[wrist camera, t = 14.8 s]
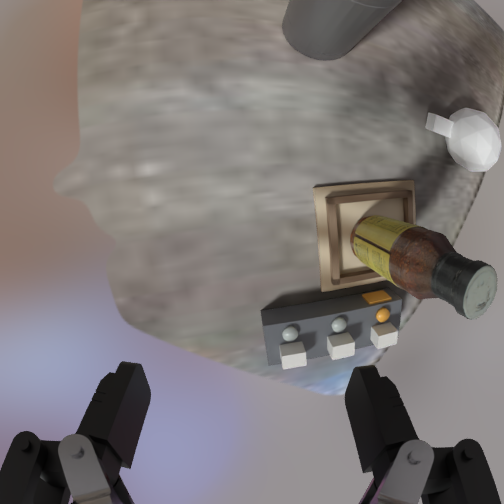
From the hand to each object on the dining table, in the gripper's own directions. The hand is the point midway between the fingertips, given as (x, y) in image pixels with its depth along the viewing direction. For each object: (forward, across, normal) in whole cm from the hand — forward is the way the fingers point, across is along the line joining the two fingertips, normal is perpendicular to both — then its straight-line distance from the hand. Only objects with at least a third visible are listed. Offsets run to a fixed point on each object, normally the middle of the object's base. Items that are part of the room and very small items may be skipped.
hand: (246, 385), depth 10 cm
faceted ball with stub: (+28, -28, -12) cm, 41 cm away
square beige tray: (+25, -15, +3) cm, 30 cm away
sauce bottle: (+25, -15, +3) cm, 29 cm away
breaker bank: (+24, -11, +14) cm, 30 cm away
